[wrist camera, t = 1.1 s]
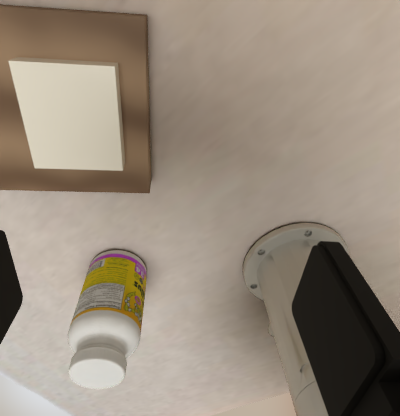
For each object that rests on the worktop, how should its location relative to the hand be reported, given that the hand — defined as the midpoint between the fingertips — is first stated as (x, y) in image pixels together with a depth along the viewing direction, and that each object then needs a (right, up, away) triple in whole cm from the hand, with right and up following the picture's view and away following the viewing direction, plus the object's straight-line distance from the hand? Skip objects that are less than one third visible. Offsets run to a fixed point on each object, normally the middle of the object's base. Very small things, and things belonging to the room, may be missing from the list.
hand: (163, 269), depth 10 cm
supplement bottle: (-8, -5, +28) cm, 30 cm away
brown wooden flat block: (-11, +11, +17) cm, 23 cm away
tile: (-9, +9, +15) cm, 20 cm away
